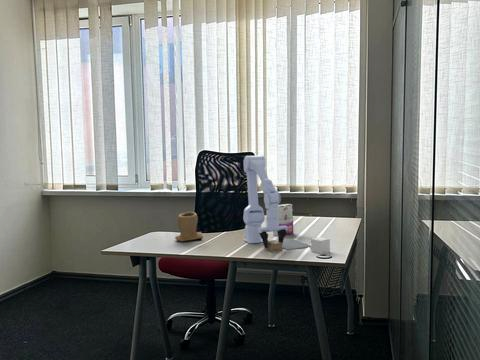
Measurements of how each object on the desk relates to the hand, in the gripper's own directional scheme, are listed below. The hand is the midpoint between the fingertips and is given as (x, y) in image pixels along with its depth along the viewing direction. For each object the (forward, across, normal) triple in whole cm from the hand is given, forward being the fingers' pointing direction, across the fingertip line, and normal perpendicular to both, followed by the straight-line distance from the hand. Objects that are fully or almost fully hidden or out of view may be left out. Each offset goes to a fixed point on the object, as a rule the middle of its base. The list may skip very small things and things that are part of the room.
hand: (273, 246), depth 214 cm
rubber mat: (+1, +12, +5) cm, 13 cm away
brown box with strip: (+2, 0, 0) cm, 2 cm away
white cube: (+2, +17, -14) cm, 22 cm away
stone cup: (+2, -28, +41) cm, 50 cm away
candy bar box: (+2, +22, +31) cm, 38 cm away
